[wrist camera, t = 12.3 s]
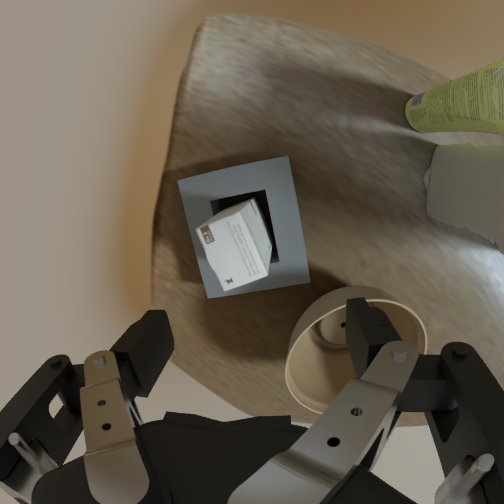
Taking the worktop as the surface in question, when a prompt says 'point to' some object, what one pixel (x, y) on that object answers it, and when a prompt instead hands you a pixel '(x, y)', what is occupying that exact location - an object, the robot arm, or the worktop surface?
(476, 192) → the tall pale column
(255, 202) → the skincare box
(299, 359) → the planter bowl
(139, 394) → the robot arm
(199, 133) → the worktop surface
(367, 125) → the worktop surface
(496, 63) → the tube
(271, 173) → the socket frame
